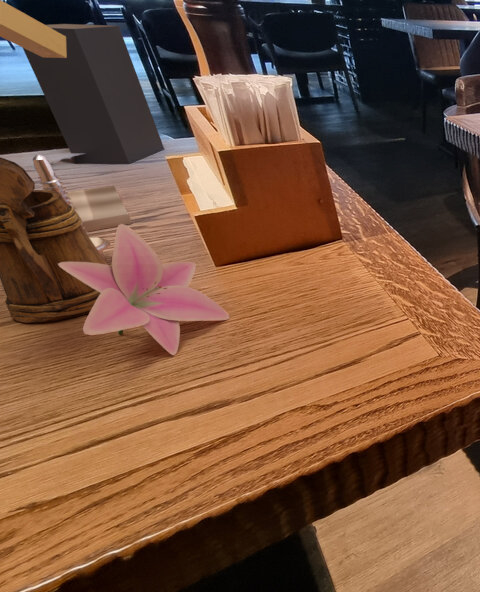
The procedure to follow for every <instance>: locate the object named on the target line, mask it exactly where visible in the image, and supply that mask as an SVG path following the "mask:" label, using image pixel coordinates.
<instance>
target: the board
mask: <svg viewBox="0 0 480 592" xmlns="http://www.w3.org/2000/svg"><path fill="white" fill-rule="evenodd" d="M66 192H67V193H68V195H67V196H68V197H70V198H71V200H70V202H72V203H73V205H72V207H75V208H76V209H75V211H76V212H77V213H78V215H79V217H80V218H81V220H82V223H83V224H82V226H84V227H85V229H84V231H86V232H87V233H88V232H94V231H99V230H105V229H110V228H117V227H118V225H120V224H124V225H126V226H128V225H132V224H133V221H132V219H131V216H130V215H129V212H128V210H127V208H126V206H125V204H124V202H123V200H122V198H121V197H120V195H119V192H118V191H117V189H116V187H115V185H107V186H101V187H94V188H87V189H80V190H73V191H66Z"/></svg>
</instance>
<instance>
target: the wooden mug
mask: <svg viewBox="0 0 480 592" xmlns="http://www.w3.org/2000/svg"><path fill="white" fill-rule="evenodd" d="M81 224H82V220H81V218H80V217H79V215H78V214H77V212H76V211H75V210H74V208H73V207H72V206H71V205H70V204H67V203H66V201H65V200H64V198H63V197H62V196H61V194H60V193H59V192H57V191H49V190H43V189H36V185H35V181H34V180H33V179H32V177H31V176H30V175H29V173H28V172H27V171H26V170H25V168H23V167H22V166H21V165H19V164H18V163H17V162H14V161H12V160H9V159H6V158H4V157H0V283H1V284H2V287H3V290H4V293H5V295H6V297H5V298H4V303H5V305H6V307H7V310H8V312H9V315H10V317H11V318H12V319H14V320H15V321H16V322H21V323H28V324H29V323H31V324H34V323H37V324H38V323H51V322H58V321H63V320H66V319H71V318H77V317H80V316H83V315H87V314H88V315H89V313H90V311H91V309H92V307H93V306H94V304H95V302H96V300H97V298H98V297H99V295H100V294H101V293H100V292H98V291H97V290H95V289H93V288H92V287H90V286H88V285H87V284H85V283H83V282H82V281H80V280H79V279H77V278H76V277H74V276H72V275H71V274H69V273H68V272H66V271H65V270H63V269H62V268H61V267H60V266H59V265H58V263H61V262H90V263H99V264H106V265H109V264H108V263H107V262H106V259H105V260H104V258H103V257H102V256H101V254H100V253H99V251H98V250H97V248H96V247H95V245H94V244H93V243H92V241H91V240H90V238H91V237H90V236H89V235H88V233H87V234H86V232H85V231H84V229H83V227H82V225H81ZM88 236H89V237H88Z"/></svg>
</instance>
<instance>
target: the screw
mask: <svg viewBox="0 0 480 592" xmlns="http://www.w3.org/2000/svg"><path fill="white" fill-rule="evenodd" d="M32 162H33V165H34V169H35V170H36V173H37V174H38V176H39V177H38V178H37V179H39V180H40V183H39V185H42V190H49V191H57V192H59V193H60V194H61V196H62V197H63V198H64V200H65V201H66V203H67V204H70V205H71V206H72V205H73V203H72V202H70V200H71V198H70V197H68V196H67V195H68V193H67V192H68V191H66V190H67V187H65V186H64V185H65V183H64V182H62V181H60V180H61V177H60V176H57V174H56V171H55V170H54V168H53V166H52V164H51V162H50V161H49V160H48V159H47V157H46V156H44V155H42V154H36V155H35V156H33V158H32ZM73 208H74V210H75V209H76V208H75V207H73ZM77 214H78V213H77ZM82 224H83V223H82ZM82 224H81V225H82ZM82 227H83V229H85V227H84V226H82ZM85 232H86V231H85ZM86 234H87V235H88V232H86ZM88 237H89V238H90V240H91V241H92V243H93V244H94V245H95V247H96V248H97V250H98V251H99V253H100V254H101V256H102V257H103V258H104V260H105V261H106V257H105V255H104V253H103V252H104V251H106V250H107V249H109V248H110V247H111V242H110V240H108V239H105V238H103V237H96V236H95V237H90V236H89V235H88Z"/></svg>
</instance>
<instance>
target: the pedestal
mask: <svg viewBox="0 0 480 592" xmlns="http://www.w3.org/2000/svg"><path fill="white" fill-rule="evenodd" d="M45 25H46V26H48V27H50V28H51V29H53V30H55V31H57V32H58V33H60V34H62V35H64V36H66V52H67V58H49V57H41V56H39V55H37V54H35V53H33V52H31V51H29V50H27V49H25V48H23V47H21V48H22V50H23V52H24V54H25V56H26V58H27V61H28V63H29V65H30V67H31V69H32V71H33V74H34V76H35V78H36V80H37V82H38V85H39V87H40V89H41V91H42V94H43V96H44V97H45V100H46V102H47V105H48V106H49V108H50V110H51V113H52V115H53V117H54V119H55V121H56V124H57V126H58V129H59V130H60V133H61V135H62V137H63V140H64V141H65V143H66V146H67V148H68V149H69V152H70V154H77V155H73V156H72V159H73V161H74V163H75V164H79V165H83V164H84V165H85V164H86V165H87V164H88V165H91V164H92V165H113V164H114V165H130V164H132V163H135V162H137V161H140V160H142V159H145V158H147V157H149V156H151V155H155V154H157V153H159V152H161V151H164V150H165V147H164V144H163V141H162V138H161V136H160V134H159V131H158V127H157V125H156V122H155V120H154V117H153V115H152V111H151V108H150V107H149V104H148V100H147V99H146V96H145V93H144V90H143V88H142V85H141V81H140V79H139V77H138V74H137V71H136V68H135V66H134V62H133V61H132V58H131V55H130V52H129V50H128V47H127V44H126V42H125V38H124V36H123V34H122V31H121V28H120V26H119V25H102V24H101V25H100V24H79V23H78V24H77V23H76V24H74V23H58V24H57V23H56V24H55V23H54V24H45Z"/></svg>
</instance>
